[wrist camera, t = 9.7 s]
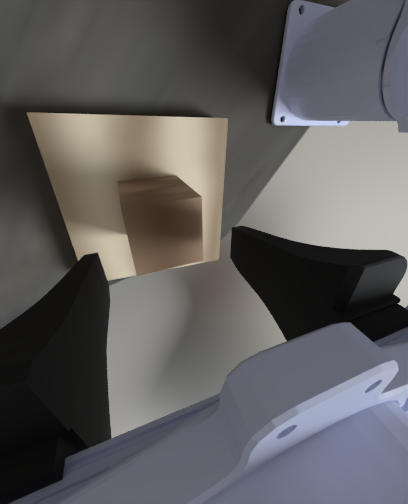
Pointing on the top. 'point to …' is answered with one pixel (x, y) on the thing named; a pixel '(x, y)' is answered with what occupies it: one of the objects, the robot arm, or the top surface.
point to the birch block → (128, 174)
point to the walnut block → (161, 222)
